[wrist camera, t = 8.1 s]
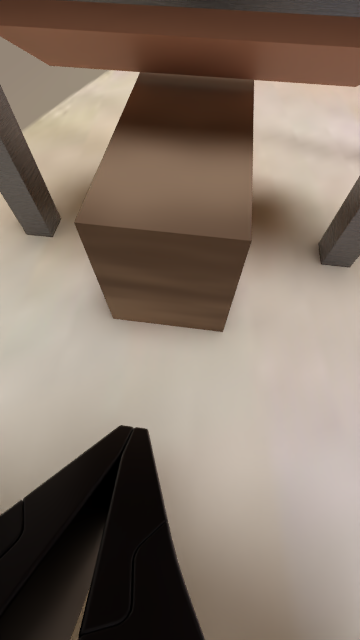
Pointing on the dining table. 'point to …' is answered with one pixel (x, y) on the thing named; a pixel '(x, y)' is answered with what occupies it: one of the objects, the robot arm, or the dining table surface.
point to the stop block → (174, 201)
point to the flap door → (187, 40)
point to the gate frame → (35, 200)
